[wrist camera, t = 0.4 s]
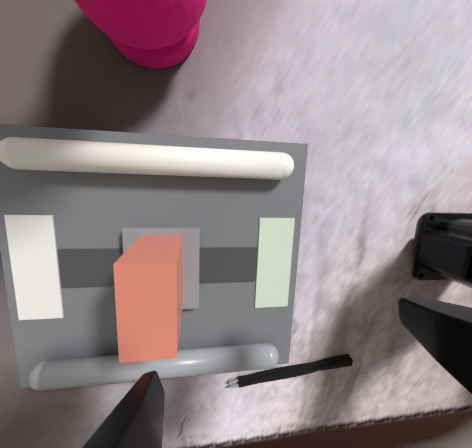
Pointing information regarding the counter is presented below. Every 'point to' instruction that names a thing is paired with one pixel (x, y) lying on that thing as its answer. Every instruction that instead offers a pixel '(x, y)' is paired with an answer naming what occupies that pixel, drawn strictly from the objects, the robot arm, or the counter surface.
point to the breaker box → (145, 215)
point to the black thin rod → (291, 371)
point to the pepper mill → (148, 28)
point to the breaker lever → (155, 290)
